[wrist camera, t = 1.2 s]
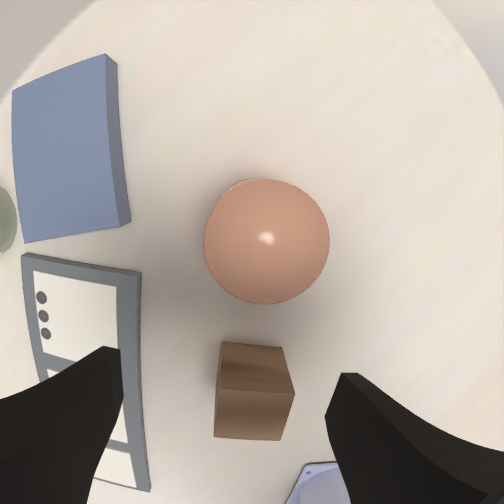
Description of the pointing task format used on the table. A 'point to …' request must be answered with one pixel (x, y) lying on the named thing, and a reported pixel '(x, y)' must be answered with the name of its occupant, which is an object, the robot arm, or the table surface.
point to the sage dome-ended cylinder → (7, 221)
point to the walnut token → (252, 392)
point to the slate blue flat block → (69, 152)
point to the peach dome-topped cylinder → (266, 241)
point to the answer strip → (91, 344)
